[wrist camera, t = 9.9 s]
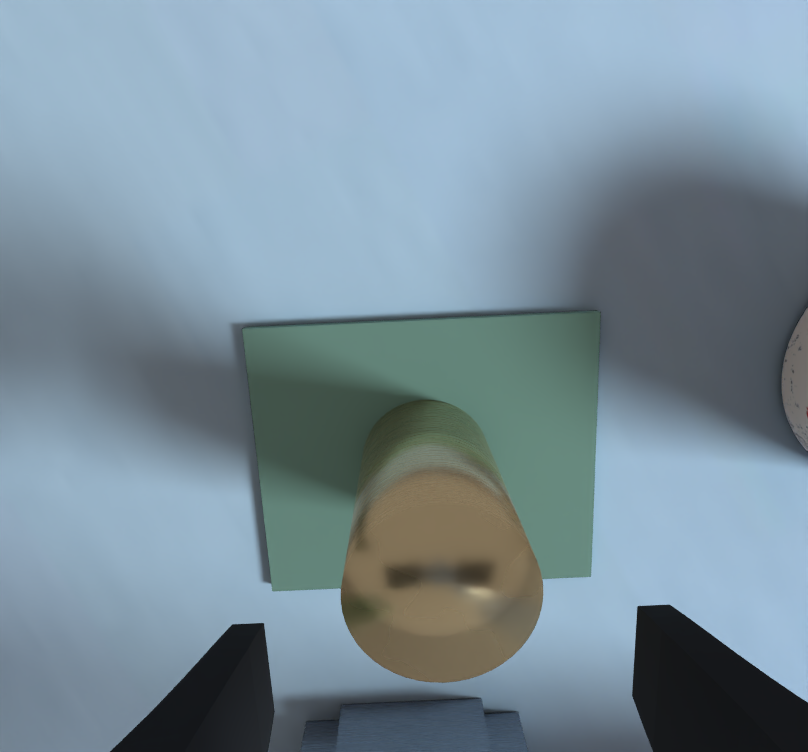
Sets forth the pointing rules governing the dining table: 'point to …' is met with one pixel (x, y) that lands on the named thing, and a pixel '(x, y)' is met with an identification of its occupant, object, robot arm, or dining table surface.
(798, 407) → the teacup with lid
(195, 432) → the dining table surface
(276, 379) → the rubber mat
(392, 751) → the socket collar
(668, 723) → the robot arm
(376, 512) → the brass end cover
